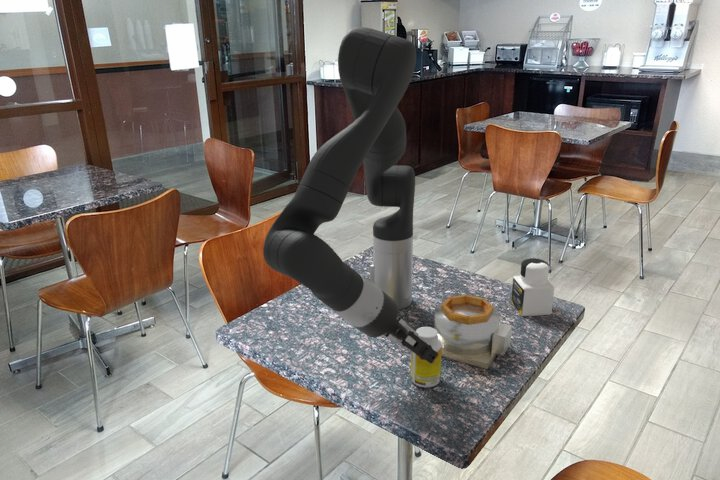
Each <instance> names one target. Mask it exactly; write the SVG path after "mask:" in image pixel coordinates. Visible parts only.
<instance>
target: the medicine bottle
mask: <svg viewBox="0 0 720 480" xmlns="http://www.w3.org/2000/svg"><path fill="white" fill-rule="evenodd" d="M549 269H550V264H549V263H548V262H547V261H545V260H543V259H540V258H534V257H532V258H526V259H523V260H522V261H521V263H520V274H519V275H514V276H513V277H512V288H511V299H510V300H511V301H510V303H511V304H512V306H513V308H514V309H516V311H517V312H518V314H519V315H520V316H521V317H534V316H537V317H538V316H551V315H552V311H553V302H554V301H553V300H554V294H555V286H554V285H553V284H552V283H551V282H550V281H549V279H548V278H549Z"/></svg>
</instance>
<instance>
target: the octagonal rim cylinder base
mask: <svg viewBox="0 0 720 480" xmlns="http://www.w3.org/2000/svg"><path fill="white" fill-rule="evenodd" d="M500 321H501V314H500V311H499V309H497V307H495V306H493V305H492V304H491V303H490V302H489V301H488V300H487V299H486V298H484V297H479V296H475V295H470V294H461V295H454V296H448V297H447V298H446V299H445V300H444V301H441V302H439V303H438V304H437V305H436V307H435V309H434V325H433V328H434V329H436V330H437V332H438V339H439V340H440V341H441V344H442V350H441V358H442V357H443V358H447V359H450V360H454V361H458V362H461V363H465V364H467V365H471V366H474V367H478V368H481V369H485V370H488V369H489V368H490V366H491V364H492V363H493V361H494V360H495V358H496V356H497V355H501V356H504V355H505V354H506V352H507V350H508V349H509V347H510V345H511V343H512V333H513V325H510V324H507V323H502V322H500Z"/></svg>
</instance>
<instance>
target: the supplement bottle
mask: <svg viewBox="0 0 720 480" xmlns="http://www.w3.org/2000/svg"><path fill="white" fill-rule="evenodd" d="M415 331H416V332H417V333H418V335H419V336H418V337H419V338H420V339H421V340H423V341H424V342H427V344H428V345H431V346H432V348H433V350H435V351H436V352H437V353H438V356H437V358H436V359H435V360H434V362H433V363H429V362H428V361H426V360H423V359H421V358H420V357H419V356H417V355H416V354H415V353H414V352H413V351H411V350H410V371H409V372H410V374H409V375H410V380H411V382H412V383H413V384H414V385H416V386H417V387H420V388H426V389H427V388H433V387H435V386H437V385H438V384H439V383H440V382H441V376H442V375H441V371H442V370H441V369H442V356H441V350H442V344H441V341H440V340H439V339H438V332H437V330H436V329H434V327H431V326H422V327H418V328H417V329H416V330H415Z"/></svg>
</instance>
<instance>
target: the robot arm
mask: <svg viewBox="0 0 720 480" xmlns="http://www.w3.org/2000/svg"><path fill="white" fill-rule="evenodd" d="M416 49H417V48H416V46H415V44H414V43H413V42H412V41H410V40H409V39H406V38H403V37H400V36H397V35H394V34H392V33H386V31H385V32H384V31H381V30H377V29H373V28H370V27H365V26H356V27H355V26H354V27H353V28H351V29H349V31H346V34H345V35H344V36H343V37H342V40H341V42H340V46H339V48H338V54H337V55H338V56H337V67H338V70H337V71H338V75H339V80H340V82H341V83H340V84H341V86H342V90H343V91H344V94H345V97H346V99H347V101H348V104H349V107H350V111H351V114H352V117H353V120H354V121H353V122H352V123H350V124H349V125H348V126H346V127H345V128H344V129H342V130H340V132H338V133H336V134H335V135H334V136H333V137H331V138H329V139H328V140H327V141H326V142H325V143H323V144H322V145H321V146H320V147H318V149H317V150H316V152H315V153H314V154H313V156H312V157H311V159H310V161H309V163H308V165H307V167H306V169H305V171H304V173H303V176H302V178H301V180H300V182H299V185H298V187H297V189H296V191H295V194H294V196H293V197H292V199H291V200H290V201H289V202H288V203H287V204H286V206H285V207H284V208H283V210H282V211H281V212H280V214H279V215H278V217H277V218H276V219H275V221H274V222H273V224H272V225H271V227H270V228H269V230H268V232H267V234H266V236H265V239H264V243H263V249H262V253H263V258H264V261H265V263H266V264H267V266H269V268H270V269H272V270H274V271H276V272H278V273H280V274H282V275H284V276H285V277H286V276H287V277H288V278H291V279H292V280H295V281H296V282H298V283H299V284H301V285H302V286H304V287H306V288H307V289H309V291H311V293H312V294H313V295H314V297H315V298H317V299H318V300H319V301H320V302H322V303H323V304H325V305H326V306H328V307H329V308H330V309H331V310H332V311H334V312H335V313H336V314H337V315H338V316H340V318H341V319H343V320H344V321H346V322H347V323H349V324H350V325H351V326H353V327H354V328H355V329H357V330H359V331H360V332H361V333H363V334H364V335H366V336H367V337H369V338H374V339H375V338H380V337H382V336H385V337H386V338H388V339H389V340H390V341H392V342H395V343H396V344H397V345H399V346H400V347H402V348H403V349H404V350H405V351H407V350H410V352H411V351H413V352H414V353H415V354H416V355H417V356H419V357H420V358H421V359H423V360H426V361H428V362H429V363H433V362H434V360H435V359H436V358H437V356H438V353H437V352H436V351H435V350H433V348H432V346H431V345H428V344H427V342H424V341H423V340H421V339H420V338H419V337H418V336H419V335H418V333H417V332H416V330H414V329H413V328H411V327H410V326H409V325H408V324H407V322H406V321H405V320H404V319H402V317H399V316H398V315H399V310H402V309H405V308H408V307H409V306H410V305H411V304H412V303H413V300H412V298H413V256H414V255H413V247H414V243H413V242H414V241H413V240H414V205H415V204H414V203H415V194H416V193H415V192H416V174H415V171H414V168H413V166H409V165H396V163H398V162H399V161H400V160H401V158H403V157H402V156H403V155H404V154H405V152H406V148H407V126H406V121H405V119H404V116H403V115H402V114H403V113H401V111H400V109H399V107H398V105H399V103H400V102H401V101H402V99H403V97H404V95H405V93H406V92H407V89H408V87H409V85H410V83H411V81H412V78H413V75H414V73H415V69H416V64H417V50H416ZM362 164H363V168H364V169H363V170H364V181H365V191H366V196H367V199H368V201H369V203H370V204H371V205H373V206H376V207H385V208H386V207H387V208H388V207H389V208H391V207H393V208H399V209H398V210H397V211H395V212H394V213H391V214H390V215H386V216H384V217H380V218H378V219H377V220H375V221H374V222H373V224H372V225H373V226H372V254H373V255H372V259H373V260H372V263H371V264H370V265H369V279H368V278H366V277H365V276H363V275H361V274H360V273H359V272H357V271H356V270H355V269H353V268H352V266H350V265H348V264H347V263H346V262H344V261H343V260H342V259H341V257H340V256H339V255H338V254H337V252H336V251H335V250H334V249H333V248H332V247H331V246H330V245H329V244H328V243H327V242H326V241H324V240H323V239H322V238H320V237H319V236H318V235H317V234H315V233H316V231H317V230H318V228H319V227H320V226H321V225H322V224H324V223H328V222H332V221H334V220H335V219H336V218H337V217H338V214H339V212H340V211H341V208H342V206H343V204H344V202H345V199H346V197H347V196H348V193H349V191H350V189H351V186H352V184H353V182H354V179H355V177H356V176H357V173H358V171H359V170H360V168H361V166H362Z"/></svg>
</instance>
